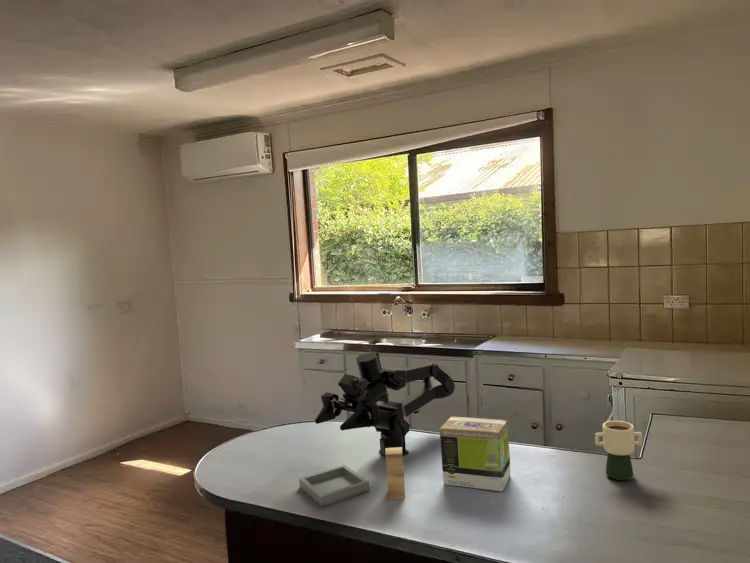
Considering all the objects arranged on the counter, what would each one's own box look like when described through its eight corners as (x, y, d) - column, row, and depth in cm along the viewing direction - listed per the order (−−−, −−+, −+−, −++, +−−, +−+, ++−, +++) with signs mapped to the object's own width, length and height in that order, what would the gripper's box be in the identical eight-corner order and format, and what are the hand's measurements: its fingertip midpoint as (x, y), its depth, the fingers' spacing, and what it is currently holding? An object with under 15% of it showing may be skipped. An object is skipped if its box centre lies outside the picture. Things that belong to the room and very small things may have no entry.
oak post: (388, 491, 142) (385, 448, 141) (404, 490, 142) (401, 447, 141) (388, 499, 138) (385, 454, 137) (405, 498, 138) (402, 453, 137)
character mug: (638, 470, 144) (637, 419, 143) (647, 483, 137) (646, 430, 136) (592, 470, 146) (591, 420, 144) (599, 483, 139) (598, 431, 137)
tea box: (511, 475, 146) (508, 418, 145) (502, 493, 137) (499, 433, 136) (454, 468, 153) (450, 414, 151) (442, 485, 143) (438, 427, 142)
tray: (345, 473, 154) (344, 464, 154) (369, 491, 143) (368, 481, 142) (299, 487, 147) (299, 478, 147) (321, 507, 136) (320, 497, 136)
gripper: (336, 365, 161) (295, 391, 150) (387, 372, 149) (346, 402, 138) (346, 400, 164) (306, 429, 153) (396, 411, 151) (357, 443, 141)
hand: (327, 425), depth 146 cm, fingers open, 9 cm apart
